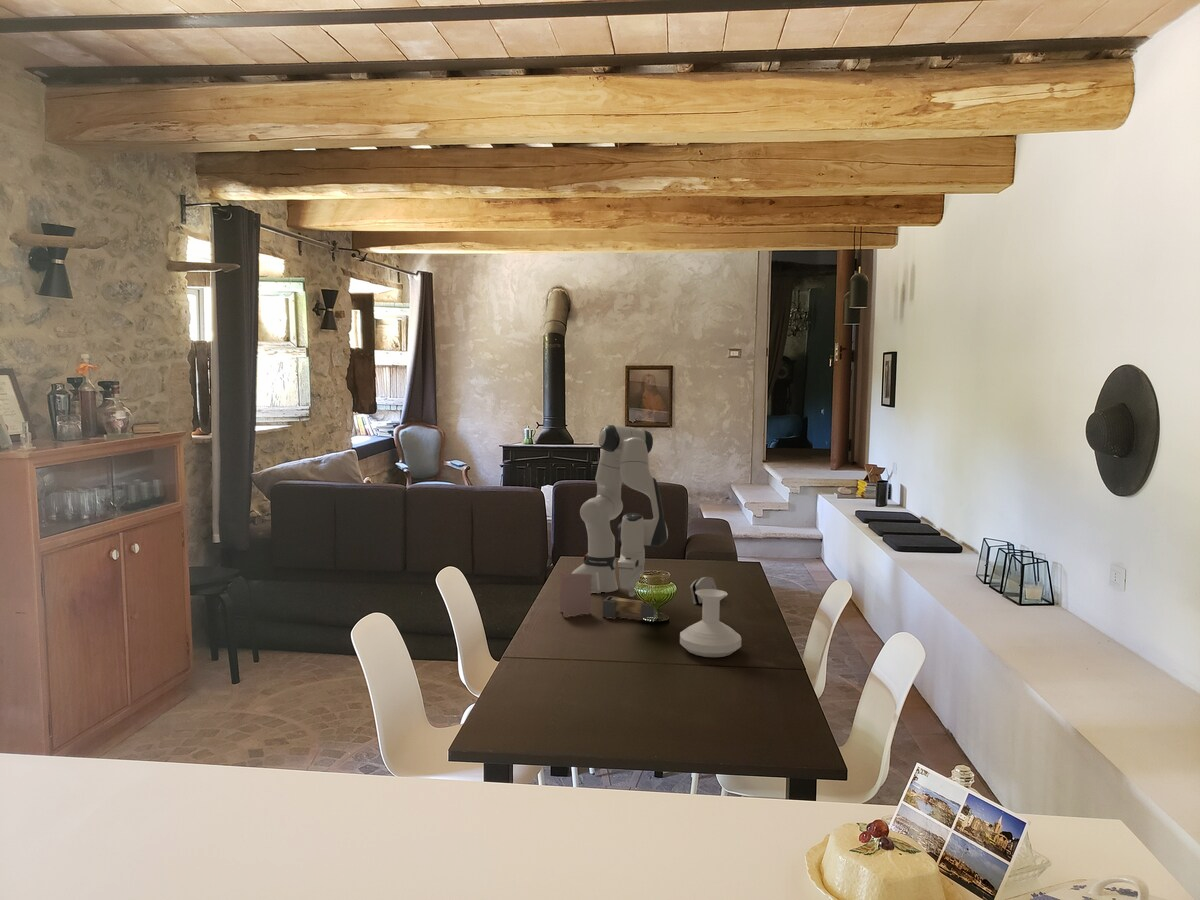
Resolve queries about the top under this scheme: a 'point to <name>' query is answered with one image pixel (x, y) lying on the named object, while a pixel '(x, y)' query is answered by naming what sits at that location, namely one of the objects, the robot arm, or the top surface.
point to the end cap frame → (610, 611)
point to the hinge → (701, 587)
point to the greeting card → (575, 593)
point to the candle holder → (710, 629)
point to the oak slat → (628, 605)
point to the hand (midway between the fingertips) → (632, 595)
